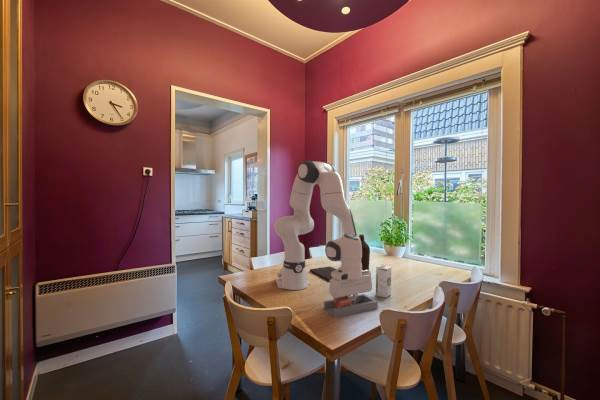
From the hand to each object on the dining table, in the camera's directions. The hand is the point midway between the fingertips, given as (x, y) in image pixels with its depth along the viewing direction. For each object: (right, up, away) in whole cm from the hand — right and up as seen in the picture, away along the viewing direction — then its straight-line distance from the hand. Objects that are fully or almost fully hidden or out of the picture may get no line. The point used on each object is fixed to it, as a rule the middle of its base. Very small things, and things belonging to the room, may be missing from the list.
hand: (351, 304), depth 108 cm
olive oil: (+18, -3, +56) cm, 59 cm away
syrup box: (+20, -3, +17) cm, 26 cm away
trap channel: (0, -3, 0) cm, 3 cm away
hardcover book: (-4, -3, +51) cm, 51 cm away
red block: (-4, -2, -2) cm, 5 cm away
